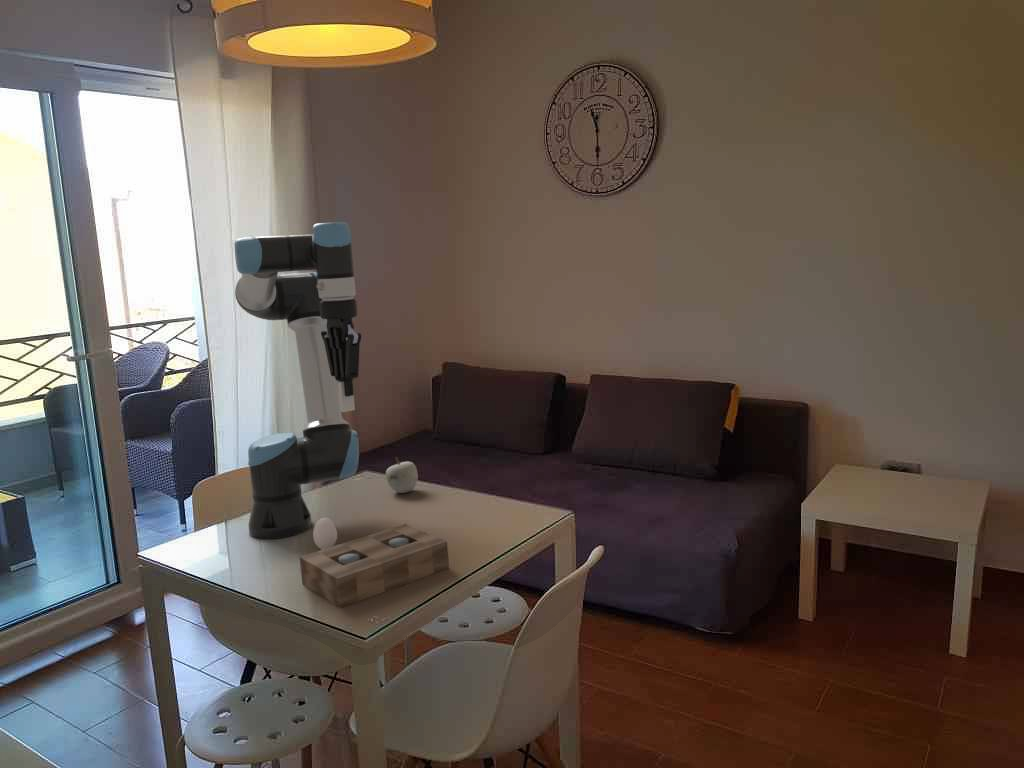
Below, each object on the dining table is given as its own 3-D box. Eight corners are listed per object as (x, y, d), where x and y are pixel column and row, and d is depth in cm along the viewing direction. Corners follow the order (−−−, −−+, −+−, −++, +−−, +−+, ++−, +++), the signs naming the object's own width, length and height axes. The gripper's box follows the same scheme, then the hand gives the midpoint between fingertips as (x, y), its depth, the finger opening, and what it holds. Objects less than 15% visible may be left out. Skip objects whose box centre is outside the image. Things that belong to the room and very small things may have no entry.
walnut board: (302, 584, 170) (299, 556, 169) (407, 548, 187) (405, 523, 186) (340, 607, 158) (337, 578, 157) (449, 567, 175) (447, 541, 173)
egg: (317, 555, 185) (314, 523, 184) (312, 548, 190) (309, 516, 189) (341, 550, 188) (338, 518, 186) (334, 543, 192) (332, 512, 191)
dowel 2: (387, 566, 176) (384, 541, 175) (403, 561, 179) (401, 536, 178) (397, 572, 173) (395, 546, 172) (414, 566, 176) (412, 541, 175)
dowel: (337, 584, 169) (334, 557, 168) (355, 577, 171) (352, 552, 170) (347, 589, 166) (344, 563, 165) (365, 583, 168) (363, 557, 167)
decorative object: (418, 496, 225) (415, 460, 223) (385, 498, 225) (383, 462, 223) (420, 486, 234) (417, 452, 232) (389, 488, 233) (386, 454, 231)
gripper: (306, 299, 171) (316, 409, 175) (336, 301, 161) (347, 418, 166) (338, 296, 176) (347, 404, 180) (369, 297, 166) (379, 411, 170)
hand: (347, 410), depth 173 cm, fingers closed
